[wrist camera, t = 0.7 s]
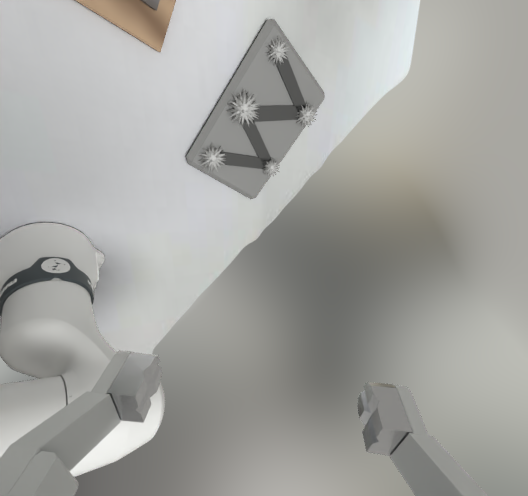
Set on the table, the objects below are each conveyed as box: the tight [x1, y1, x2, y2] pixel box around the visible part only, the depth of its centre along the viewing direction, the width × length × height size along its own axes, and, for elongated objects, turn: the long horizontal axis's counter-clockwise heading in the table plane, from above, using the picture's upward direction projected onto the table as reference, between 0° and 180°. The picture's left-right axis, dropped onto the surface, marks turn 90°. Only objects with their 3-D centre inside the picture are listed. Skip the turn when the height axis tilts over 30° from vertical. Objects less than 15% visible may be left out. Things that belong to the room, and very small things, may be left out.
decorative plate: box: [186, 20, 324, 199], centre depth 57 cm, size 30×22×7 cm
